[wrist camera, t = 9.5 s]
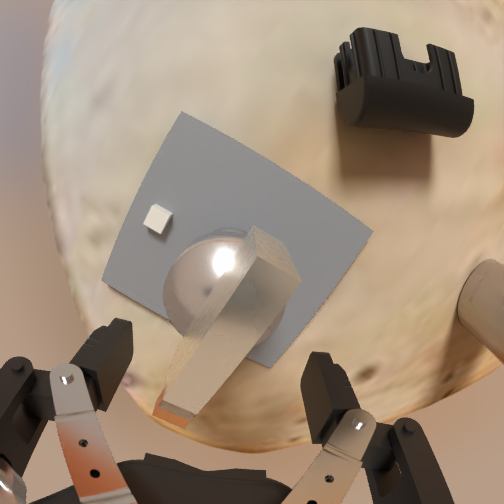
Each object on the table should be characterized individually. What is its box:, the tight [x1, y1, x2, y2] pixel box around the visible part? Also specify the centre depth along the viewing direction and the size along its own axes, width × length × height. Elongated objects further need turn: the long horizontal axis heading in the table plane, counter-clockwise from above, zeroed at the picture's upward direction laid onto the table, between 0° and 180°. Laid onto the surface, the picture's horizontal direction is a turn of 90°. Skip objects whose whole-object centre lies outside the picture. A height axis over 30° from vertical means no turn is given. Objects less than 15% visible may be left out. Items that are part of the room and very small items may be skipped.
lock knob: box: [152, 225, 302, 428], centre depth 14 cm, size 10×7×7 cm
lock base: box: [101, 111, 373, 368], centre depth 21 cm, size 18×16×6 cm
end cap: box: [334, 27, 474, 138], centre depth 16 cm, size 10×7×7 cm
